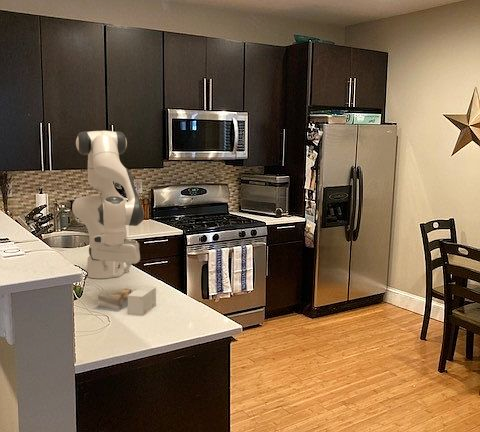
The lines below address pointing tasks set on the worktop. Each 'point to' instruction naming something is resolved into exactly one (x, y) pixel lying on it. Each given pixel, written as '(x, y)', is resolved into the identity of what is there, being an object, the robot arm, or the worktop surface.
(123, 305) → the mat
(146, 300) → the small box
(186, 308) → the worktop surface
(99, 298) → the wooden t-shaped stand
